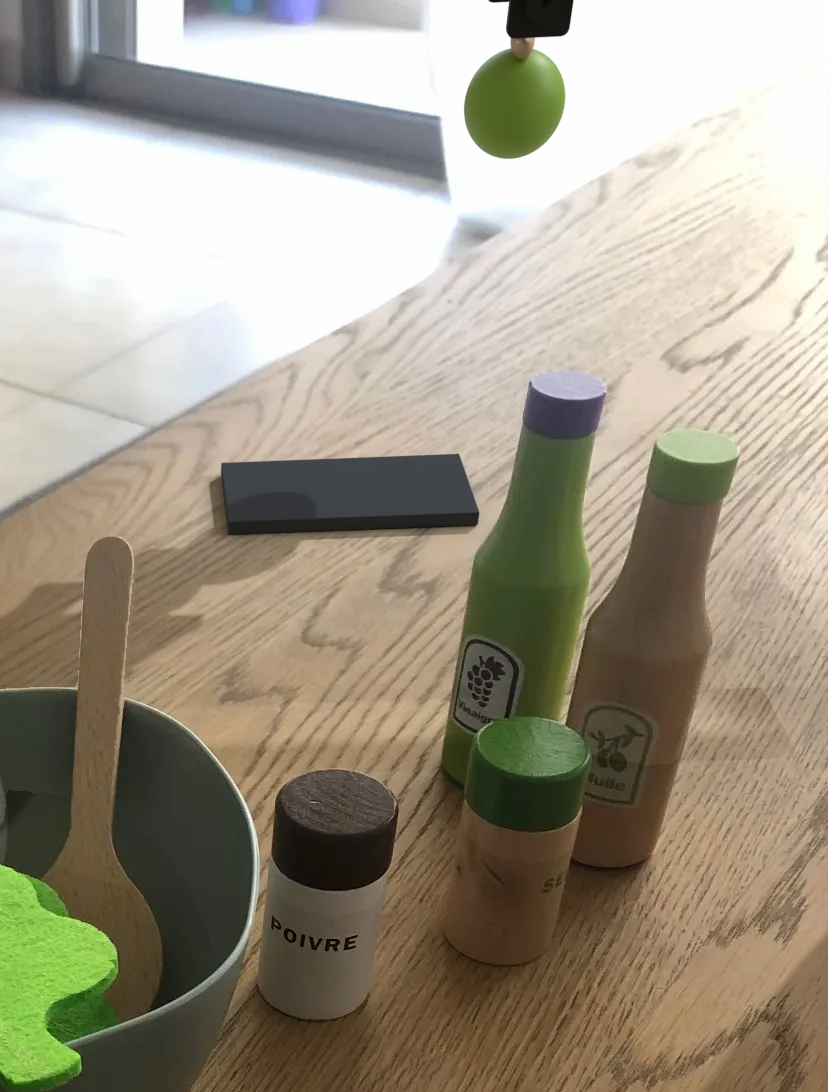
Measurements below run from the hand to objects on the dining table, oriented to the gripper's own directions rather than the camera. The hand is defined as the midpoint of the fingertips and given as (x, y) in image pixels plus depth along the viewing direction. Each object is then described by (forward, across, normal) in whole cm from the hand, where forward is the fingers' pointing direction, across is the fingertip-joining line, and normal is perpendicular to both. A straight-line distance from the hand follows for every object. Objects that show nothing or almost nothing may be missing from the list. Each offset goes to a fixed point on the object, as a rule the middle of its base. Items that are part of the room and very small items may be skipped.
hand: (525, 14), depth 88 cm
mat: (+21, +12, -9) cm, 26 cm away
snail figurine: (+7, 0, 0) cm, 7 cm away
